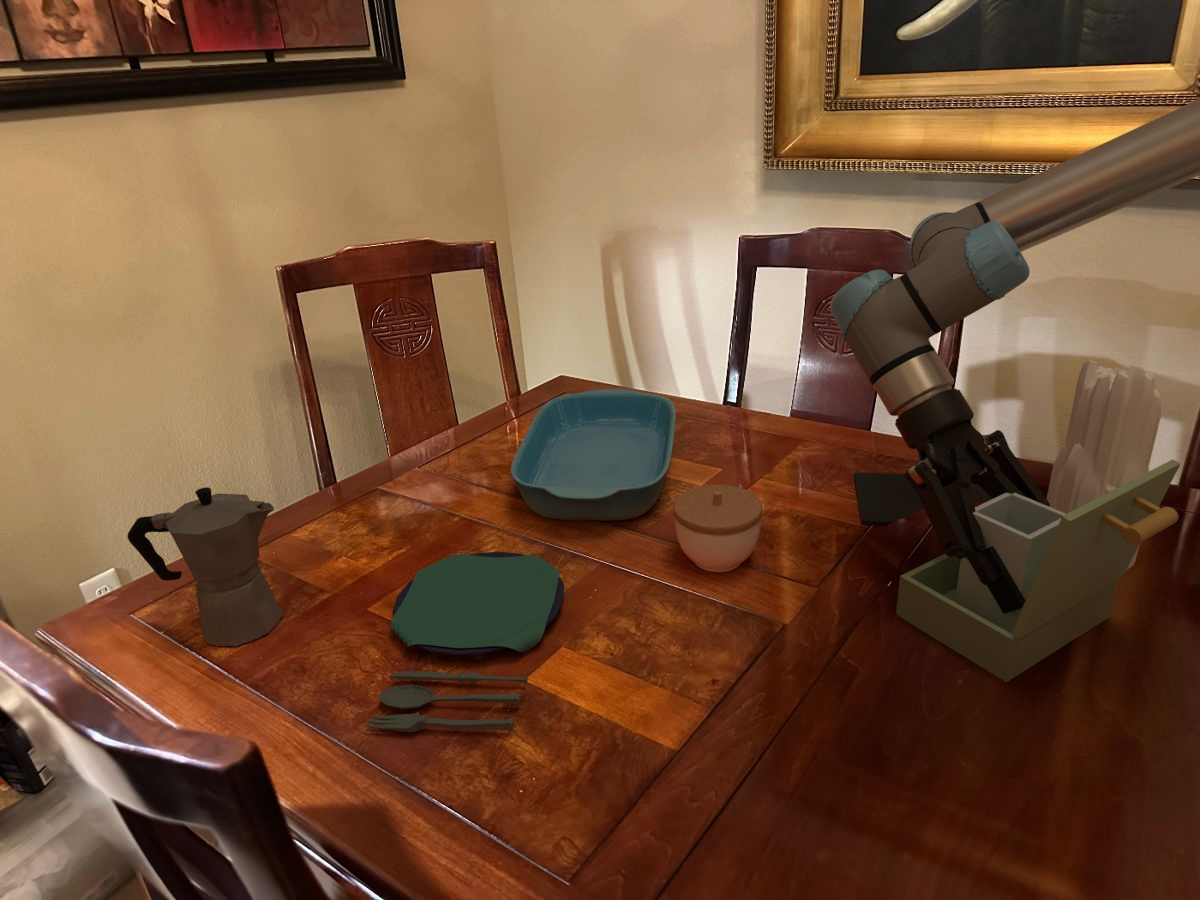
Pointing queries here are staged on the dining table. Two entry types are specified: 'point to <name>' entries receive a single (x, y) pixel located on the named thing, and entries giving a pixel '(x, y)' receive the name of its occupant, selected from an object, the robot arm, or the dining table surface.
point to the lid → (1097, 545)
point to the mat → (891, 497)
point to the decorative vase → (1106, 435)
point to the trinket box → (717, 525)
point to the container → (1008, 551)
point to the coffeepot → (218, 563)
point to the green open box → (984, 643)
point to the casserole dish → (596, 455)
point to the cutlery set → (469, 626)
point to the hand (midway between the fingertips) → (1039, 595)
